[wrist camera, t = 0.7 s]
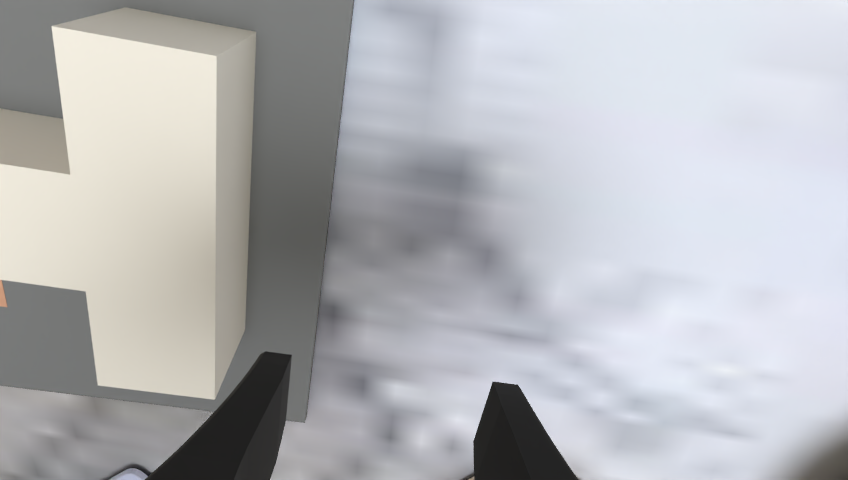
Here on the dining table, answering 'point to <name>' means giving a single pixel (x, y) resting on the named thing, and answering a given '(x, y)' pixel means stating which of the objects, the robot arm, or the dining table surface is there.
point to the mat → (269, 192)
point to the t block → (140, 194)
